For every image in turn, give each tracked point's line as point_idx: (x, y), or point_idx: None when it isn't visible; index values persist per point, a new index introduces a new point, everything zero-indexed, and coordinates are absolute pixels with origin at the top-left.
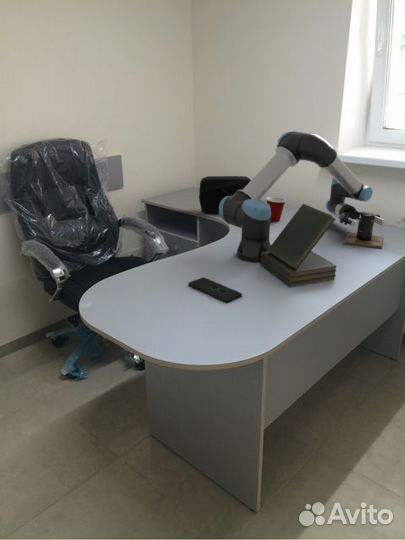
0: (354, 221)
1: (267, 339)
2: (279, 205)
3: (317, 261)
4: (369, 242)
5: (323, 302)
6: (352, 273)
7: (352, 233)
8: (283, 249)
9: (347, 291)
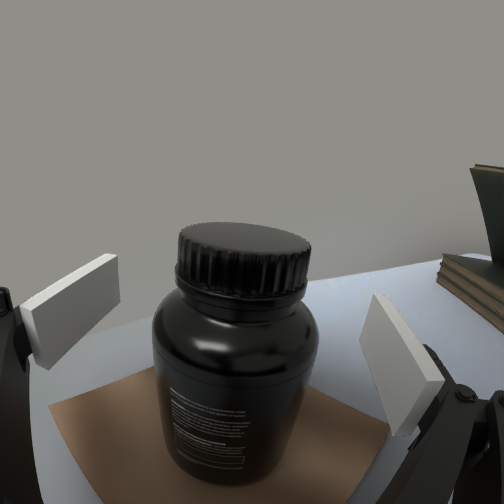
0: (393, 305)
1: (473, 256)
2: None
3: (474, 265)
4: None
5: None
6: (403, 284)
7: None
8: None
9: (417, 265)
